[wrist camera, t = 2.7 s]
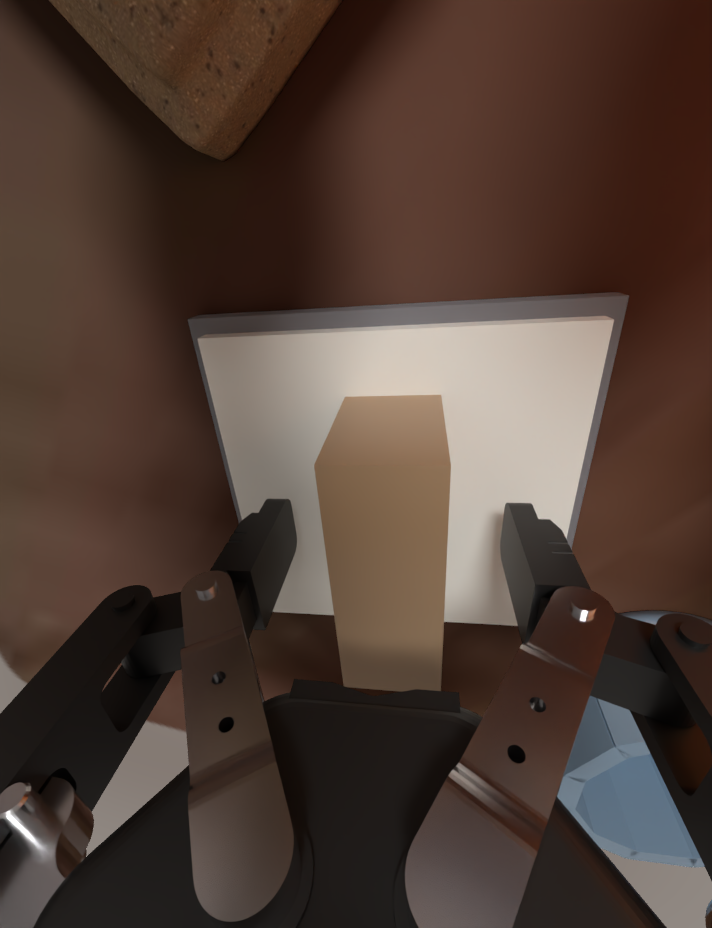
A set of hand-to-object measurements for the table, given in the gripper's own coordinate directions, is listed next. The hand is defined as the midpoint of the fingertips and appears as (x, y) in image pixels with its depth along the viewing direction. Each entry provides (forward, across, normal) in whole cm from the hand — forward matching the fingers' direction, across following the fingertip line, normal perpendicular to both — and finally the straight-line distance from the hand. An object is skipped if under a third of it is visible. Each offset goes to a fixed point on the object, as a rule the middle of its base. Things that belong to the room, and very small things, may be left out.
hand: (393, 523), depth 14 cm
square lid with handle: (+2, 0, 0) cm, 2 cm away
